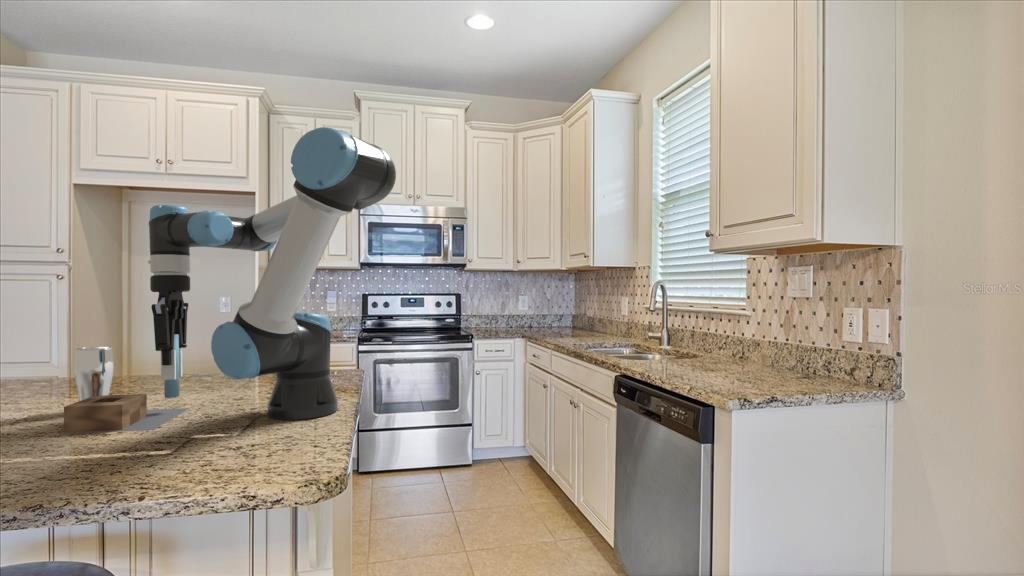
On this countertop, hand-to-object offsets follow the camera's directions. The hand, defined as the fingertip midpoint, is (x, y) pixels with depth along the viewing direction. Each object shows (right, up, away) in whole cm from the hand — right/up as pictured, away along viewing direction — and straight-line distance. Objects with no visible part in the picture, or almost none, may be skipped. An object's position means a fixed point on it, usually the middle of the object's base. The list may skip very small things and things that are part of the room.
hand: (172, 378), depth 116 cm
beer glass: (-18, -8, 0) cm, 20 cm away
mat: (-4, -8, -7) cm, 11 cm away
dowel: (0, -4, 0) cm, 4 cm away
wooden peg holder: (-7, -8, -10) cm, 14 cm away
